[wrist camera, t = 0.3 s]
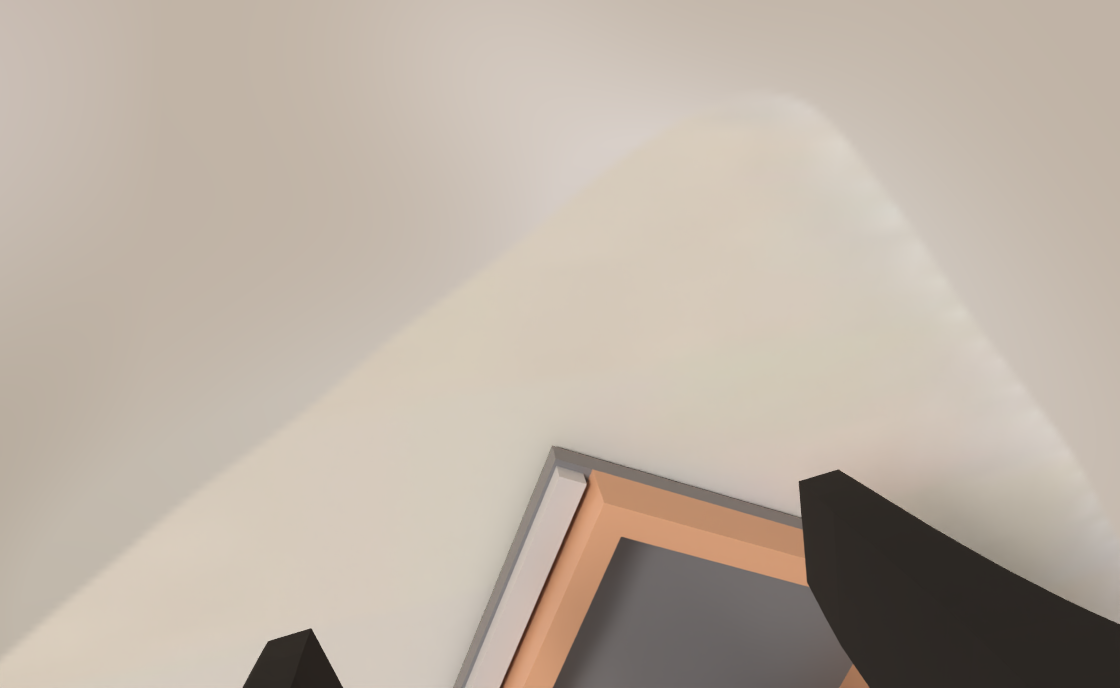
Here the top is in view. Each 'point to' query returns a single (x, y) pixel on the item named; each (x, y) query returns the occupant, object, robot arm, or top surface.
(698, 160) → the top surface
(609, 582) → the frame
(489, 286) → the top surface
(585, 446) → the top surface
